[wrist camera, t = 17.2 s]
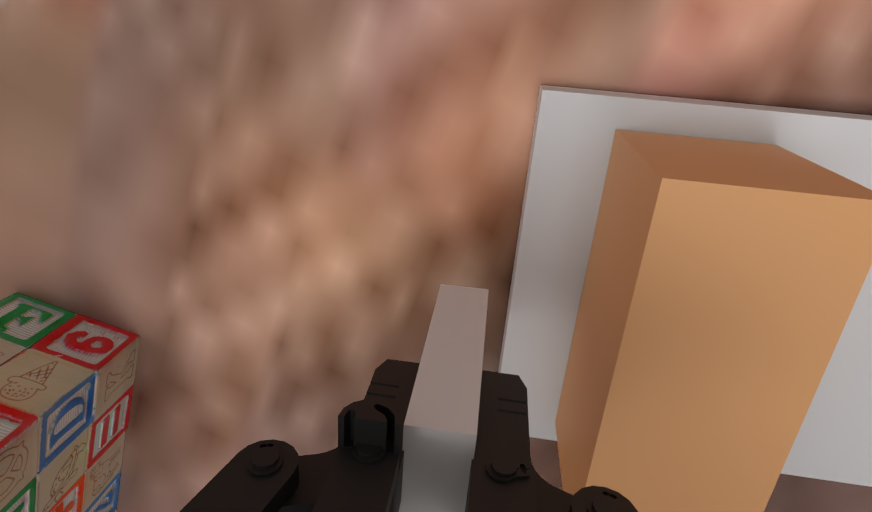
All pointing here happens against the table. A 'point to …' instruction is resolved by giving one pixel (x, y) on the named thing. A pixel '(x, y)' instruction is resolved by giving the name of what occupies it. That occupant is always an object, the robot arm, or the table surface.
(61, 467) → the stack of blocks
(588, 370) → the block
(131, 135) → the table surface
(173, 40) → the table surface
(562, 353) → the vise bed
